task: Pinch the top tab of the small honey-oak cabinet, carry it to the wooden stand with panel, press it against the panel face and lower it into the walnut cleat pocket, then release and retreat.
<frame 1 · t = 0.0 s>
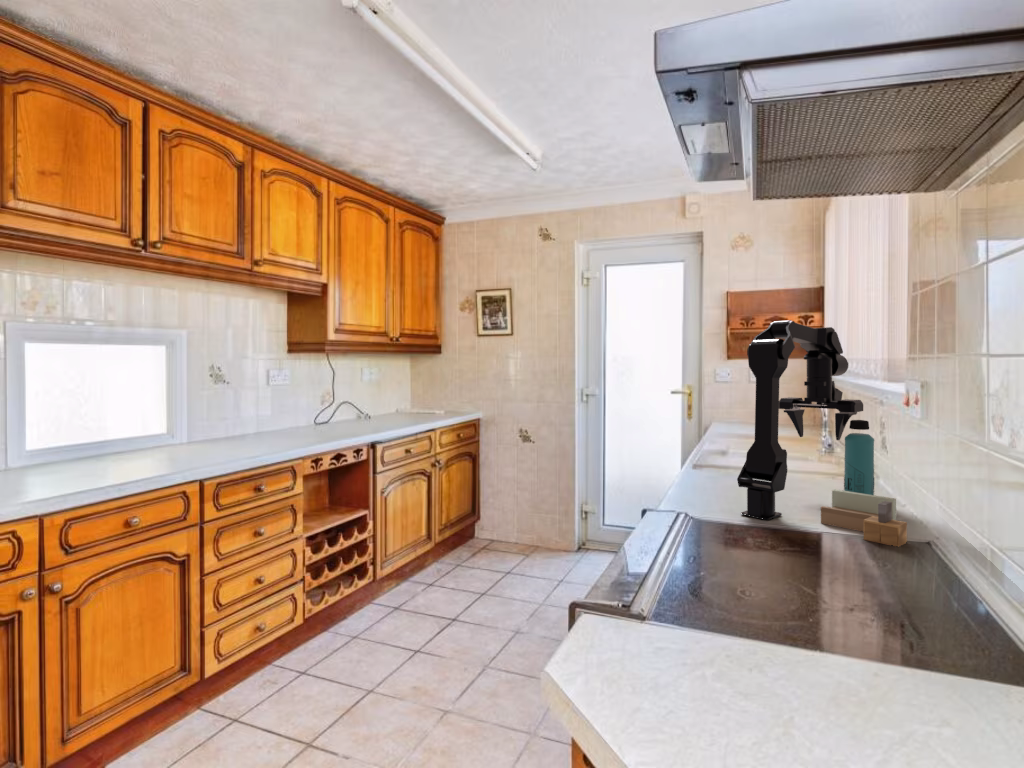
hand: (819, 438, 149), 15 cm above the countertop, tool pointing down, fingers open, 9 cm apart
beverage bottle: (858, 502, 143), on the countertop, touching gripper
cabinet: (884, 541, 113), on the countertop
wooden stand with panel: (861, 522, 125), on the countertop
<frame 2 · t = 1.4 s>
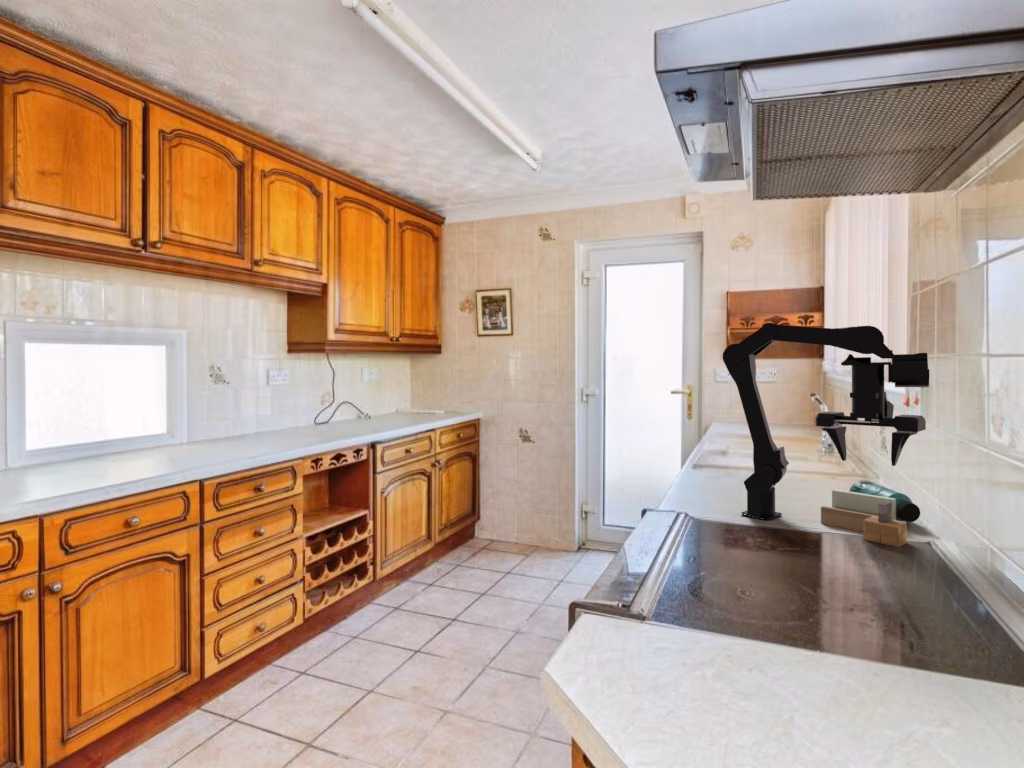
hand: (868, 463, 121), 14 cm above the countertop, tool pointing down, fingers open, 9 cm apart
beverage bottle: (857, 491, 140), point 3 cm above the countertop
everything else where it was.
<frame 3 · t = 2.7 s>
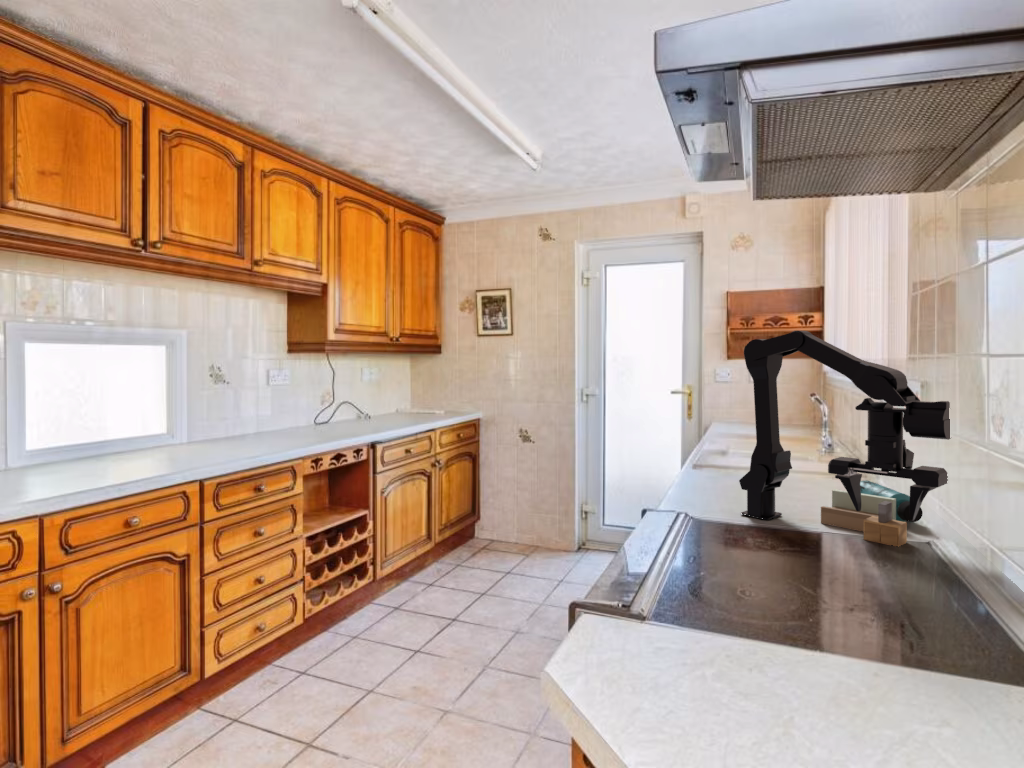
hand: (884, 515, 113), 5 cm above the countertop, tool pointing down, fingers open, 9 cm apart
nothing on the countertop moved.
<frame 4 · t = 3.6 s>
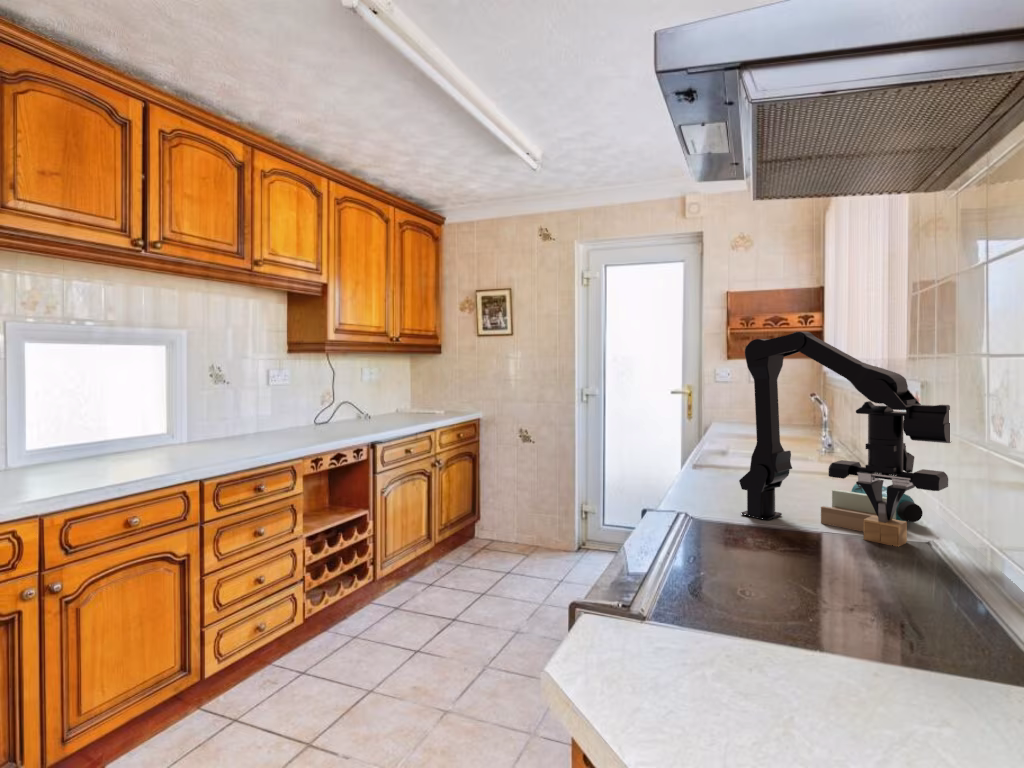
hand: (885, 519, 113), 4 cm above the countertop, tool pointing down, fingers closed on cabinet
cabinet: (885, 541, 113), on the countertop, touching gripper
everything else where it was.
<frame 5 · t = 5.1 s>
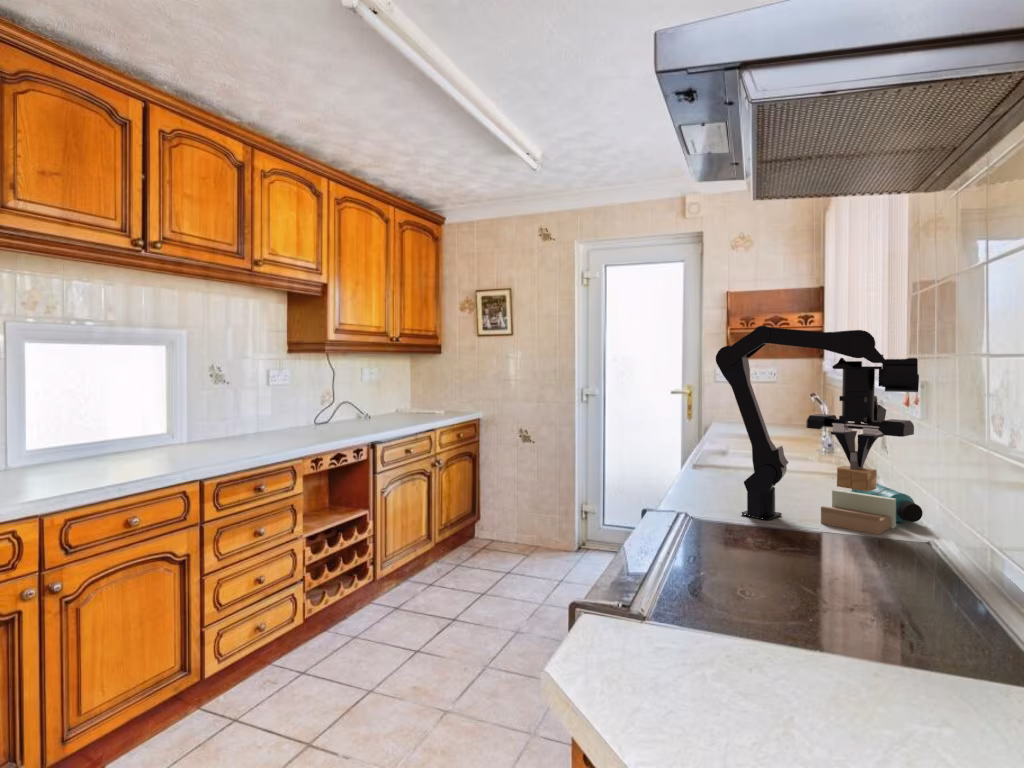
hand: (856, 466, 122), 13 cm above the countertop, tool pointing down, fingers closed on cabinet
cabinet: (856, 487, 122), point 8 cm above the countertop, touching gripper
everything else where it was.
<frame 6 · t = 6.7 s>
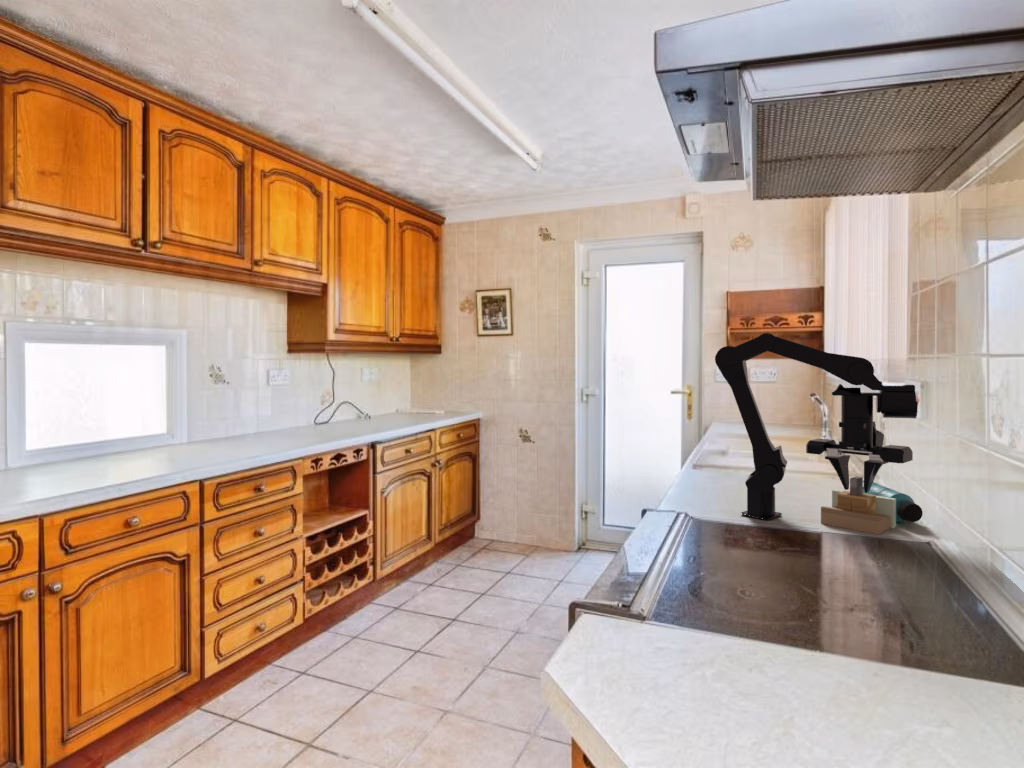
hand: (856, 490, 123), 7 cm above the countertop, tool pointing down, fingers open, 4 cm apart
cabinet: (856, 513, 124), point 2 cm above the countertop, touching wooden stand with panel
everything else where it was.
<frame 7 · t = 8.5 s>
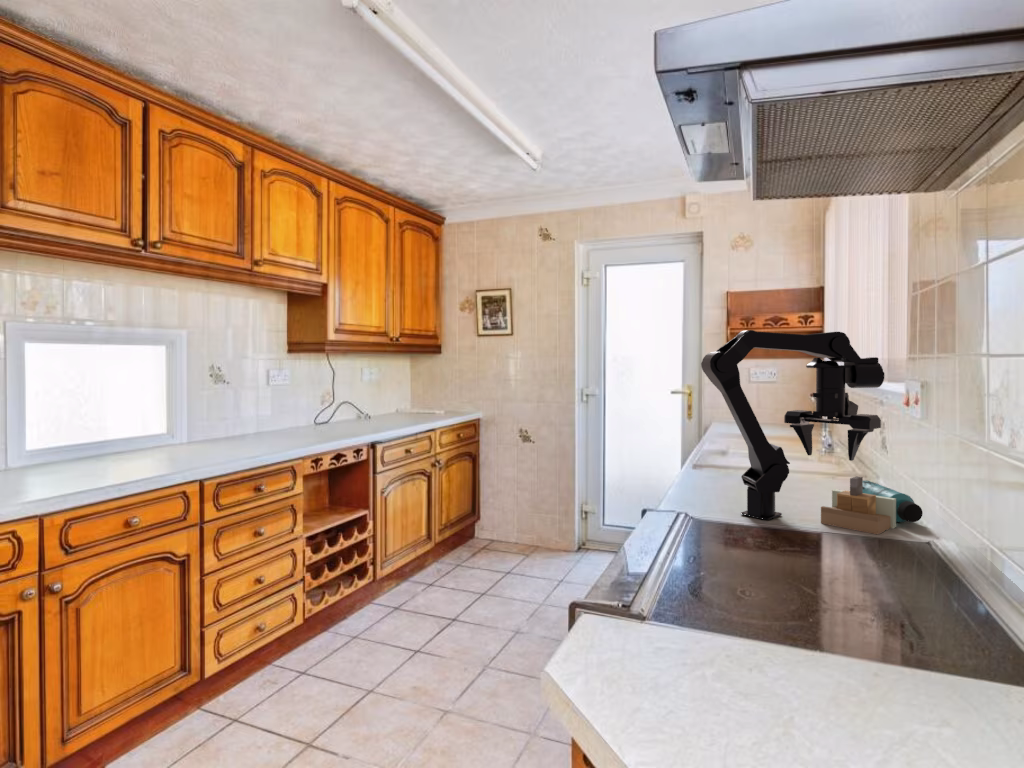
hand: (829, 457, 132), 13 cm above the countertop, tool pointing down, fingers open, 9 cm apart
nothing on the countertop moved.
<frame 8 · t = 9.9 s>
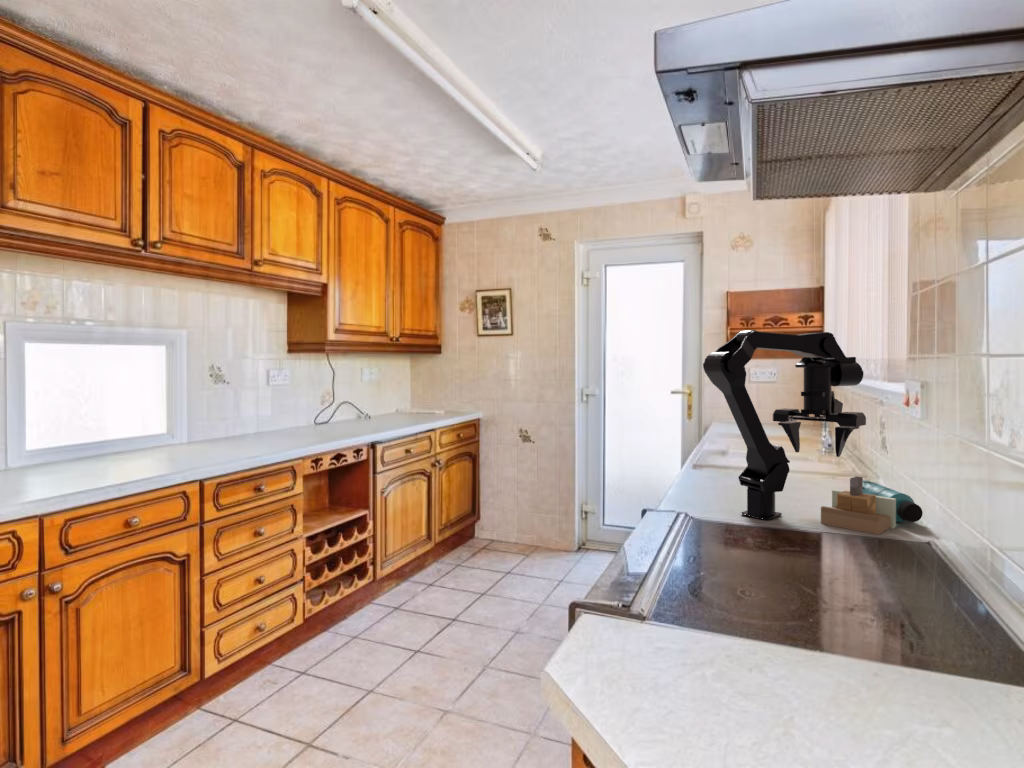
hand: (817, 454, 136), 13 cm above the countertop, tool pointing down, fingers open, 9 cm apart
nothing on the countertop moved.
at the end: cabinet 0.4 cm from the target spot on the wooden stand with panel, point 2.5 cm above the wooden stand with panel's base; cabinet tilted 0°; the gripper is holding nothing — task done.
